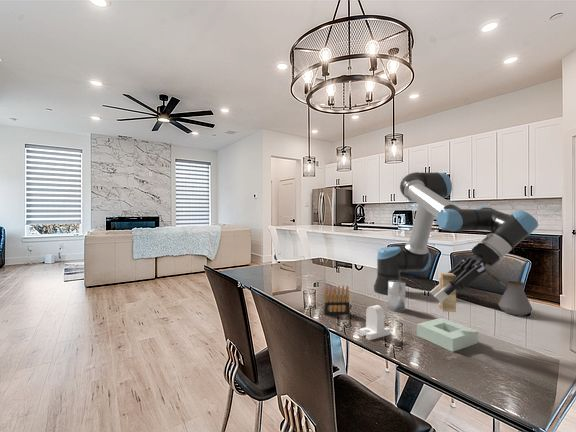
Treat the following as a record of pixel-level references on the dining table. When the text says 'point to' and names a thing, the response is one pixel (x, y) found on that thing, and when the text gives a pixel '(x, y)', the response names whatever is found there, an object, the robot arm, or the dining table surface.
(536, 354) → the dining table surface
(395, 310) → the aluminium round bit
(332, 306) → the ammunition clip
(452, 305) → the oak square bit
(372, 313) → the cable organizer
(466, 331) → the socket block
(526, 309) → the coffee pot
